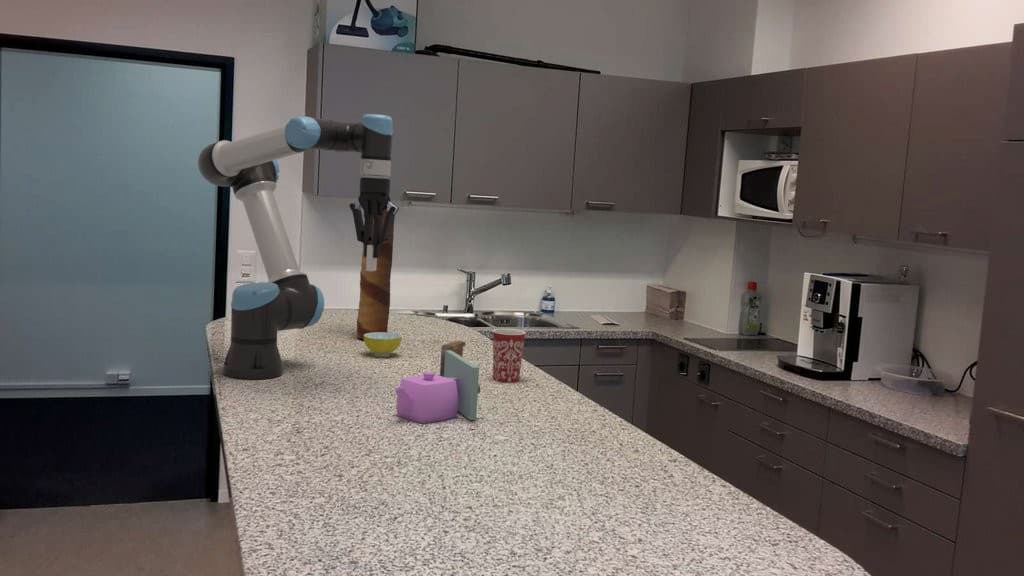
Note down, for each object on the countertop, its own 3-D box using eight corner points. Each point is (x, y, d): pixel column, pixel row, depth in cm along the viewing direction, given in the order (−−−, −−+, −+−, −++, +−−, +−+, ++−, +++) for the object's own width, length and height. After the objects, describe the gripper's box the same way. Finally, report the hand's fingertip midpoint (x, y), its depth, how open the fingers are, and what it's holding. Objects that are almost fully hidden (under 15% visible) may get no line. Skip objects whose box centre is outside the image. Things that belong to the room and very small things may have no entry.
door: (442, 398, 226) (445, 350, 225) (454, 398, 227) (457, 350, 226) (469, 420, 208) (472, 367, 206) (482, 419, 209) (485, 367, 207)
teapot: (409, 427, 200) (411, 381, 199) (379, 417, 207) (381, 372, 206) (470, 416, 213) (472, 372, 211) (440, 406, 220) (442, 364, 219)
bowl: (355, 356, 273) (356, 335, 272) (375, 350, 284) (376, 330, 283) (388, 361, 269) (389, 340, 268) (407, 355, 280) (408, 334, 279)
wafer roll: (395, 339, 304) (402, 202, 299) (374, 343, 296) (380, 202, 290) (371, 335, 310) (377, 200, 305) (350, 338, 301) (356, 200, 296)
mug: (526, 383, 250) (529, 334, 249) (493, 383, 248) (496, 333, 247) (515, 373, 263) (518, 326, 261) (484, 373, 260) (487, 325, 259)
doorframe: (436, 398, 227) (439, 346, 226) (452, 390, 237) (455, 340, 235) (446, 400, 226) (449, 347, 225) (462, 392, 236) (465, 341, 234)
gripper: (344, 175, 230) (341, 269, 233) (391, 178, 226) (387, 274, 229) (359, 176, 238) (355, 267, 240) (405, 179, 233) (400, 271, 236)
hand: (371, 270), depth 235 cm, fingers closed
